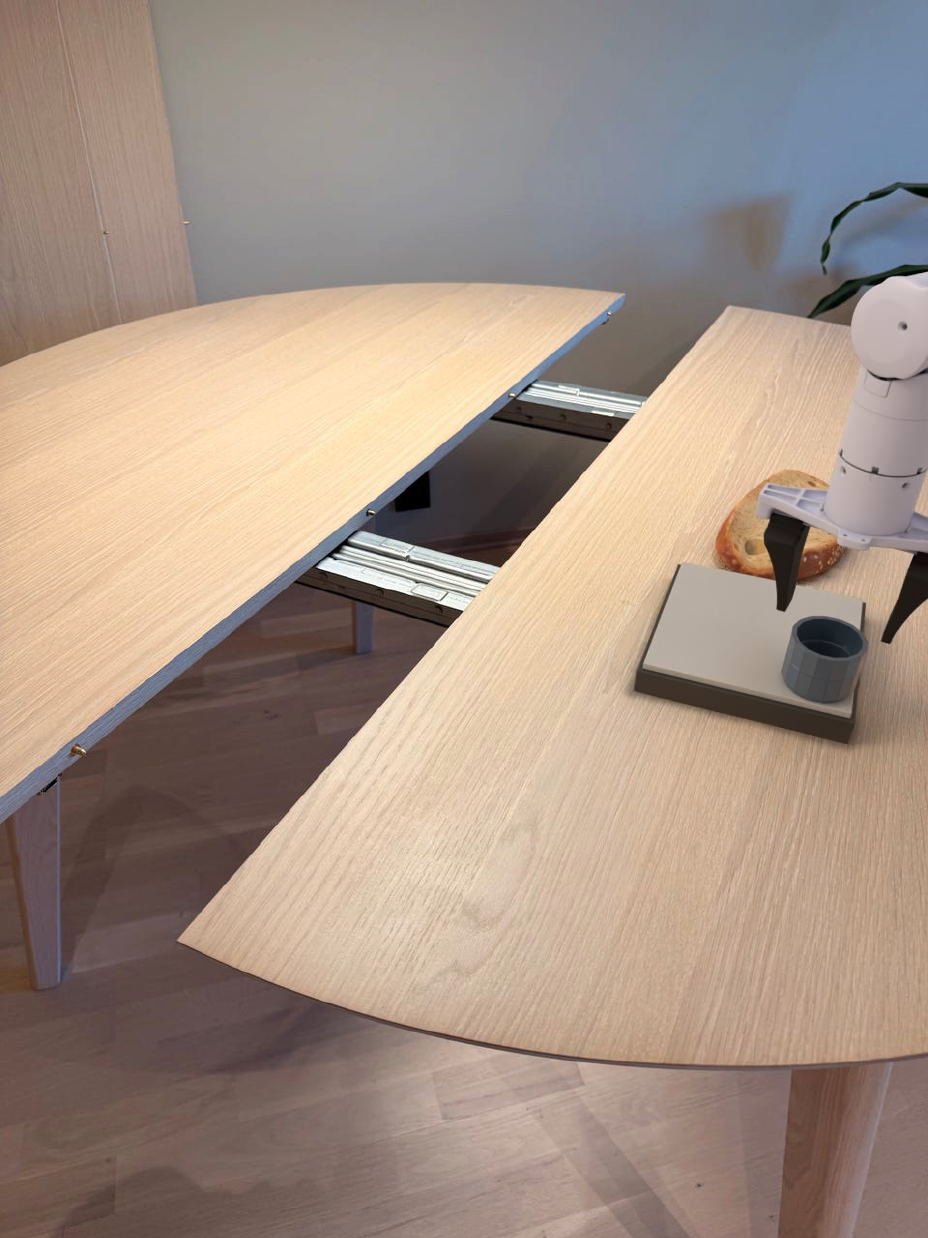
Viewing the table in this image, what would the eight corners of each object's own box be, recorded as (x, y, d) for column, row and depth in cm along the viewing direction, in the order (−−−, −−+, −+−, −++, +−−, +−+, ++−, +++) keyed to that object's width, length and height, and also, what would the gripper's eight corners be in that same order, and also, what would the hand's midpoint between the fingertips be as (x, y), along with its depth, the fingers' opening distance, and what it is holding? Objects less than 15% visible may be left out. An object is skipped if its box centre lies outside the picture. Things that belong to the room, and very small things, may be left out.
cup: (868, 694, 74) (884, 649, 72) (812, 713, 72) (825, 668, 70) (820, 652, 78) (833, 609, 76) (765, 670, 77) (776, 626, 74)
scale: (850, 744, 74) (859, 718, 72) (633, 691, 79) (637, 665, 77) (862, 622, 86) (870, 597, 85) (674, 582, 91) (678, 558, 90)
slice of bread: (808, 481, 107) (815, 451, 105) (906, 566, 94) (917, 534, 91) (662, 501, 104) (666, 471, 101) (742, 593, 90) (749, 560, 88)
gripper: (758, 454, 63) (724, 617, 72) (993, 511, 57) (927, 682, 66) (787, 416, 68) (752, 572, 76) (1007, 464, 62) (944, 628, 70)
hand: (834, 619), depth 71 cm, fingers open, 7 cm apart
